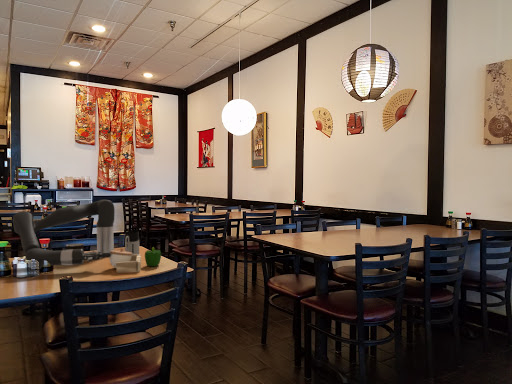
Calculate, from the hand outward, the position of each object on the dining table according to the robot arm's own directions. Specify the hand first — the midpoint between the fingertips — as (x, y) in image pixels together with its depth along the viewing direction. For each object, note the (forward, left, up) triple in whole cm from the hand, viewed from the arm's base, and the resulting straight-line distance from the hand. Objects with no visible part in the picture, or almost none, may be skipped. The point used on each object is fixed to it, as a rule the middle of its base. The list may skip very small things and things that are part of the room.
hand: (110, 254), depth 189 cm
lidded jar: (-2, +4, -7) cm, 8 cm away
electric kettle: (-26, +9, -8) cm, 28 cm away
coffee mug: (-21, -20, -8) cm, 30 cm away
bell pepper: (-4, +21, -8) cm, 22 cm away
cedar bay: (-2, +9, -8) cm, 11 cm away
